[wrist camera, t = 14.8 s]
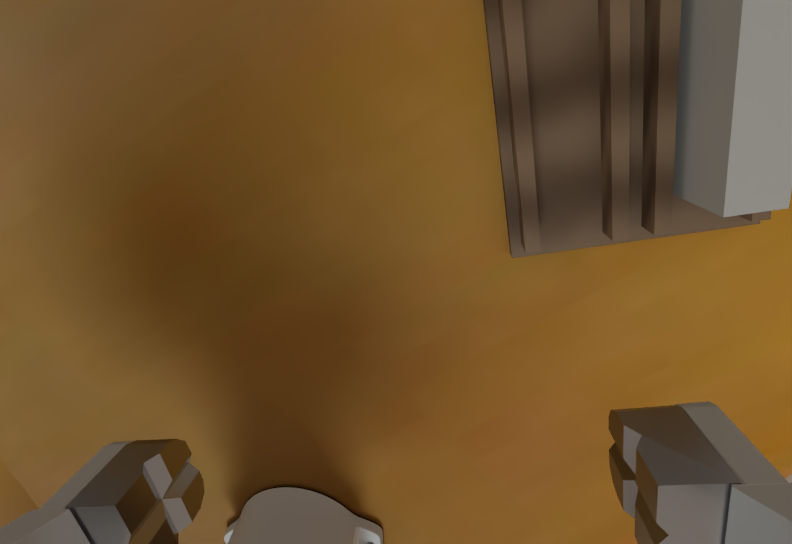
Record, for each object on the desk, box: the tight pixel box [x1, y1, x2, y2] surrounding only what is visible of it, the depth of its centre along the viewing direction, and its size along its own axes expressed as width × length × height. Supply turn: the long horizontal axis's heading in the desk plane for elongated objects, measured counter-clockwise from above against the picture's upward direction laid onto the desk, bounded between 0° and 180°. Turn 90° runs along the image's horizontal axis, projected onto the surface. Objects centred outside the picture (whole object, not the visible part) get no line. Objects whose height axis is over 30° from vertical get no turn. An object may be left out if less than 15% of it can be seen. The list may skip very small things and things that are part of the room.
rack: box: [483, 0, 771, 258], centre depth 25 cm, size 20×16×3 cm
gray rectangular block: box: [673, 0, 792, 217], centre depth 22 cm, size 14×3×6 cm, turn 12°
